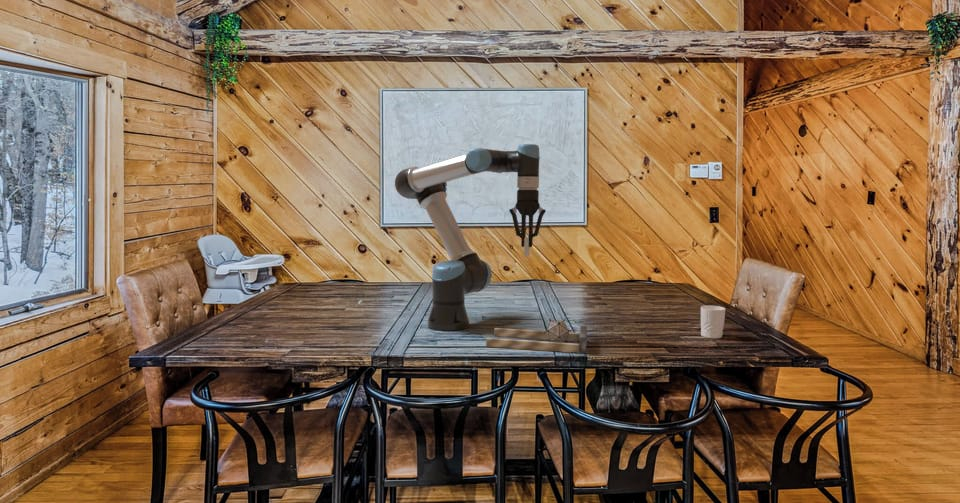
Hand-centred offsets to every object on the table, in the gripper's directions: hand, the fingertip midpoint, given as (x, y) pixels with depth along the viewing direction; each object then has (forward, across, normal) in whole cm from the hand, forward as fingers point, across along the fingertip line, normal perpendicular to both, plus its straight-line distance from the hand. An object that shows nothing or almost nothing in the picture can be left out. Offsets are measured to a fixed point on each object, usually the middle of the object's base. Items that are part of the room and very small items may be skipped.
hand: (526, 256), depth 198 cm
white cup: (+27, +64, +7) cm, 70 cm away
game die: (+27, +13, -16) cm, 34 cm away
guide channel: (+26, +6, -18) cm, 33 cm away
